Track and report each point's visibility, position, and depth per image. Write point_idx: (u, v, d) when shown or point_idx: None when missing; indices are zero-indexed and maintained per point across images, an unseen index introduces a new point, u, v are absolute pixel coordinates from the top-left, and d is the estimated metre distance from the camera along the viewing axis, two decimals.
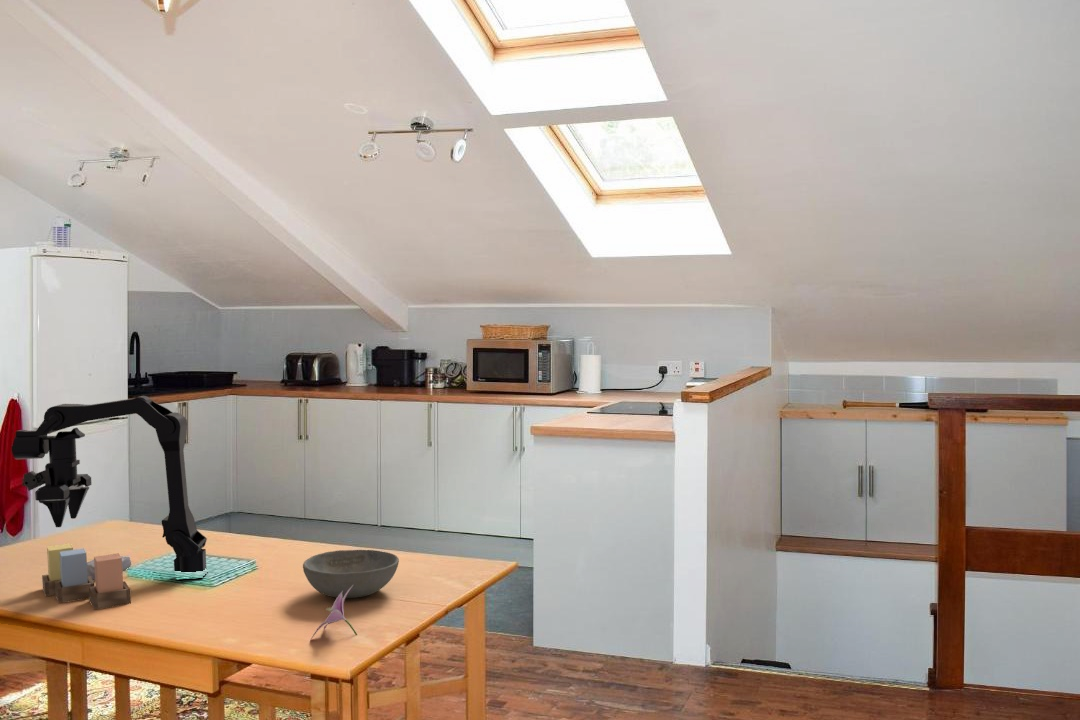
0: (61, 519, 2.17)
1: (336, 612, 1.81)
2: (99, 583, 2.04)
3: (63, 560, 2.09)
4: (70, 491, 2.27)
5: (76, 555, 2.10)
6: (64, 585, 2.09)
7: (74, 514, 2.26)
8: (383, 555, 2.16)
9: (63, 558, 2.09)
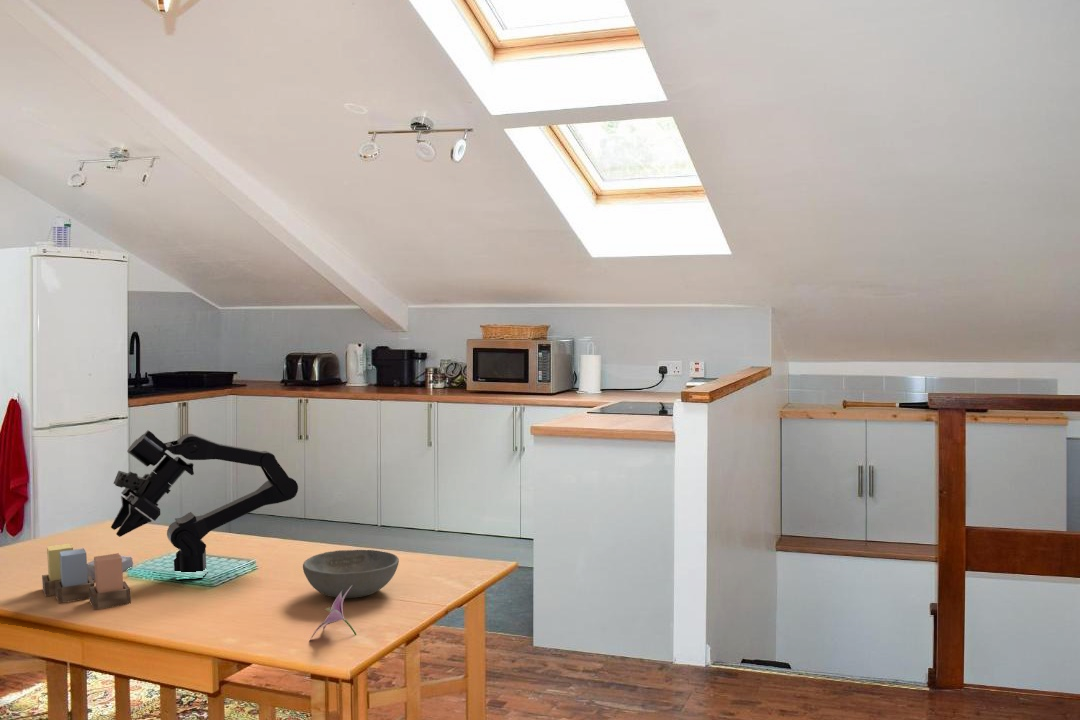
0: (127, 531, 2.14)
1: (335, 612, 1.81)
2: (99, 583, 2.04)
3: (63, 560, 2.09)
4: (129, 504, 2.23)
5: (76, 555, 2.10)
6: (64, 585, 2.09)
7: (116, 526, 2.21)
8: (383, 555, 2.16)
9: (63, 558, 2.09)
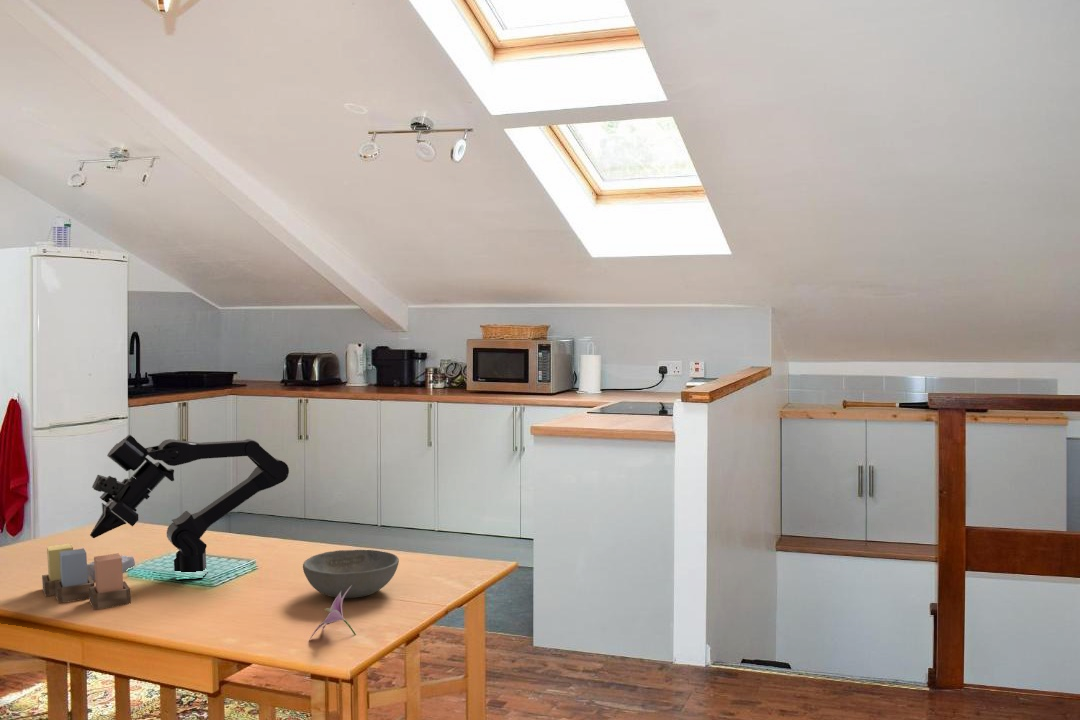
0: (102, 533, 2.14)
1: (335, 612, 1.80)
2: (99, 583, 2.04)
3: (63, 560, 2.09)
4: None
5: (76, 555, 2.10)
6: (64, 585, 2.09)
7: None
8: (383, 555, 2.16)
9: (63, 558, 2.09)
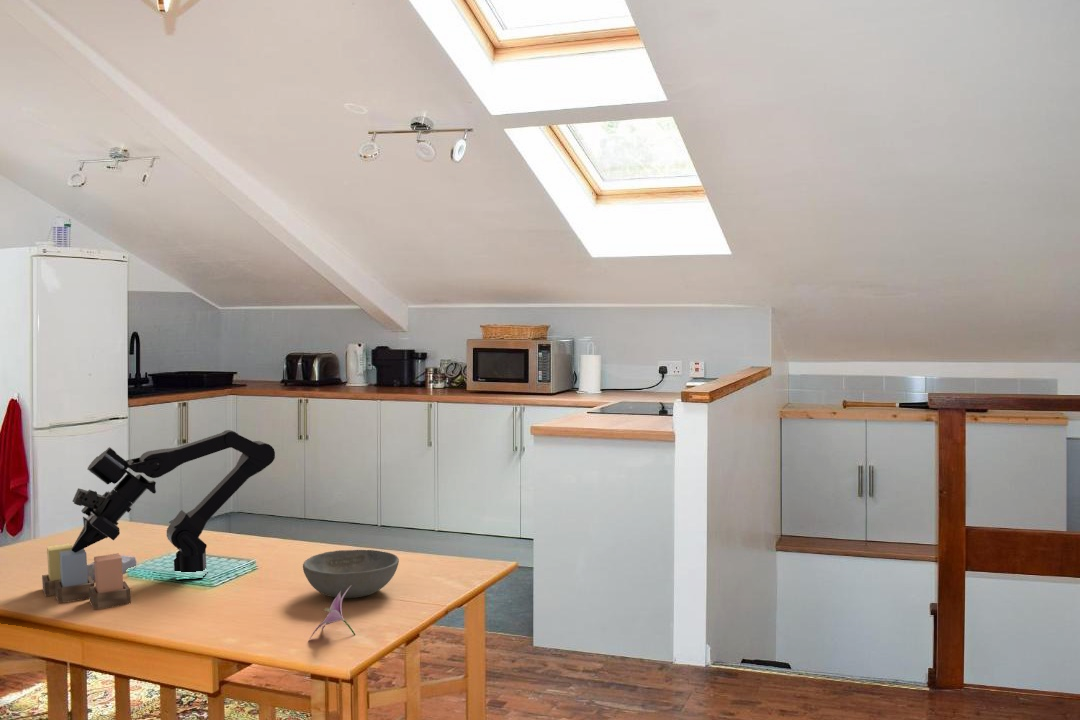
0: (83, 547, 2.12)
1: (334, 612, 1.80)
2: (99, 583, 2.04)
3: (63, 560, 2.09)
4: None
5: (76, 555, 2.10)
6: (64, 585, 2.09)
7: None
8: (383, 555, 2.16)
9: (63, 558, 2.09)
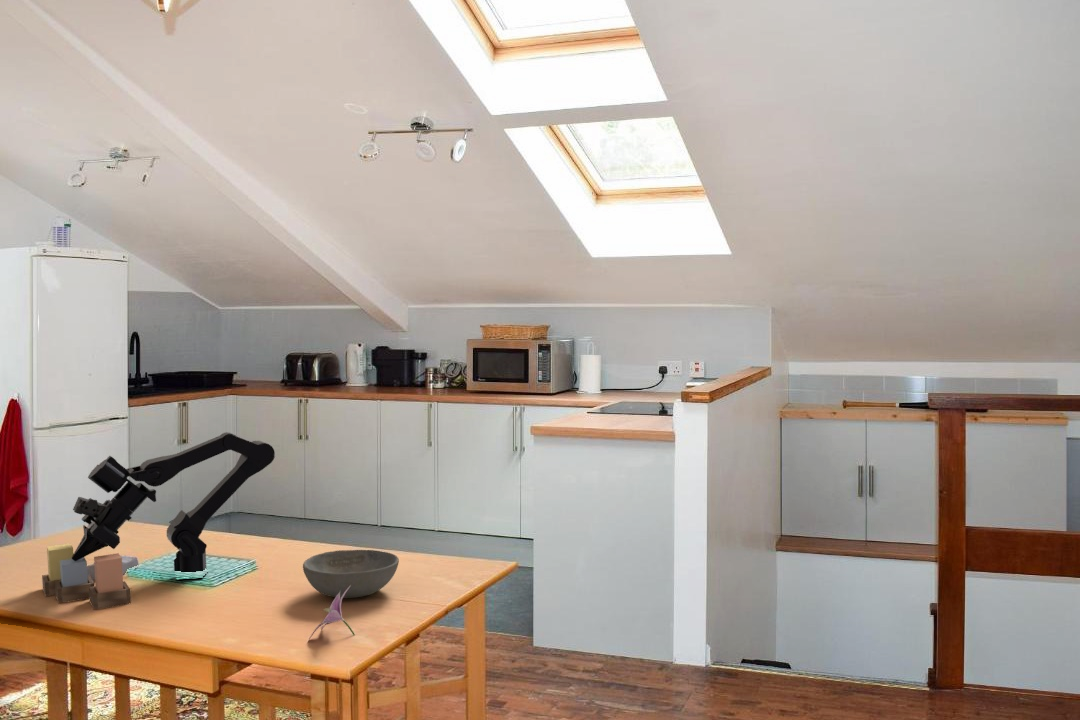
0: (83, 556, 2.12)
1: (334, 613, 1.80)
2: (99, 583, 2.04)
3: (63, 569, 2.09)
4: None
5: (76, 564, 2.10)
6: None
7: None
8: (383, 555, 2.16)
9: (63, 567, 2.09)
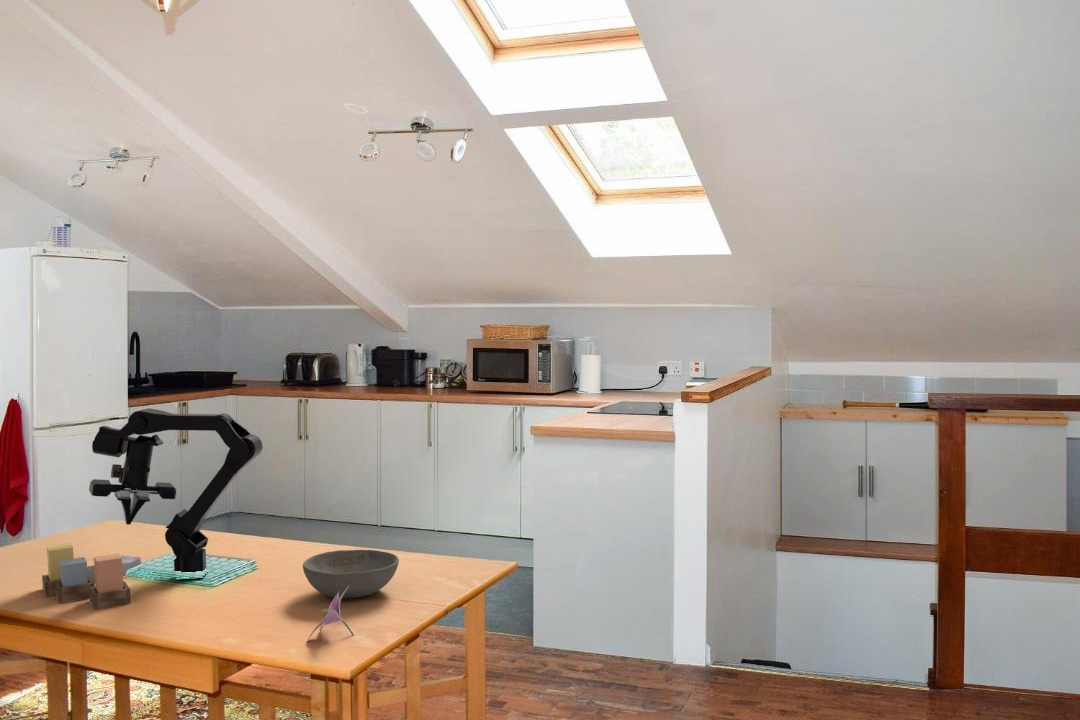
0: (125, 517, 2.24)
1: (333, 613, 1.80)
2: (99, 583, 2.04)
3: (63, 569, 2.09)
4: (134, 497, 2.26)
5: (76, 564, 2.10)
6: None
7: None
8: (383, 555, 2.16)
9: (63, 567, 2.09)
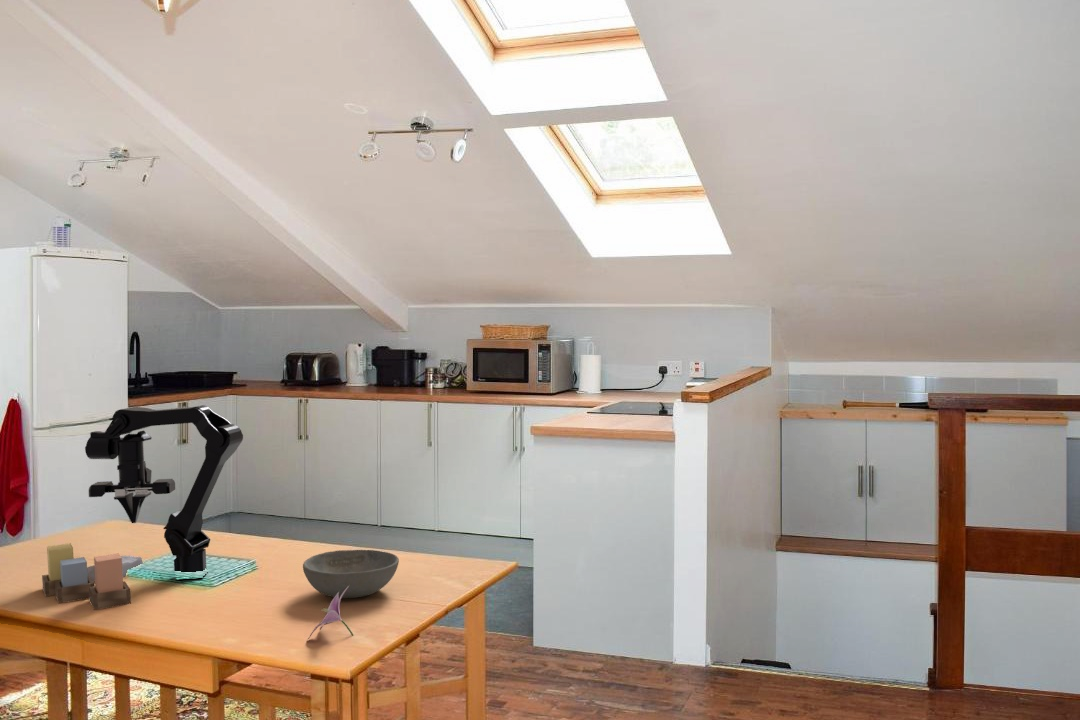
0: None
1: (332, 613, 1.80)
2: (99, 583, 2.04)
3: (63, 569, 2.09)
4: None
5: (76, 564, 2.10)
6: None
7: None
8: (383, 555, 2.16)
9: (63, 567, 2.09)
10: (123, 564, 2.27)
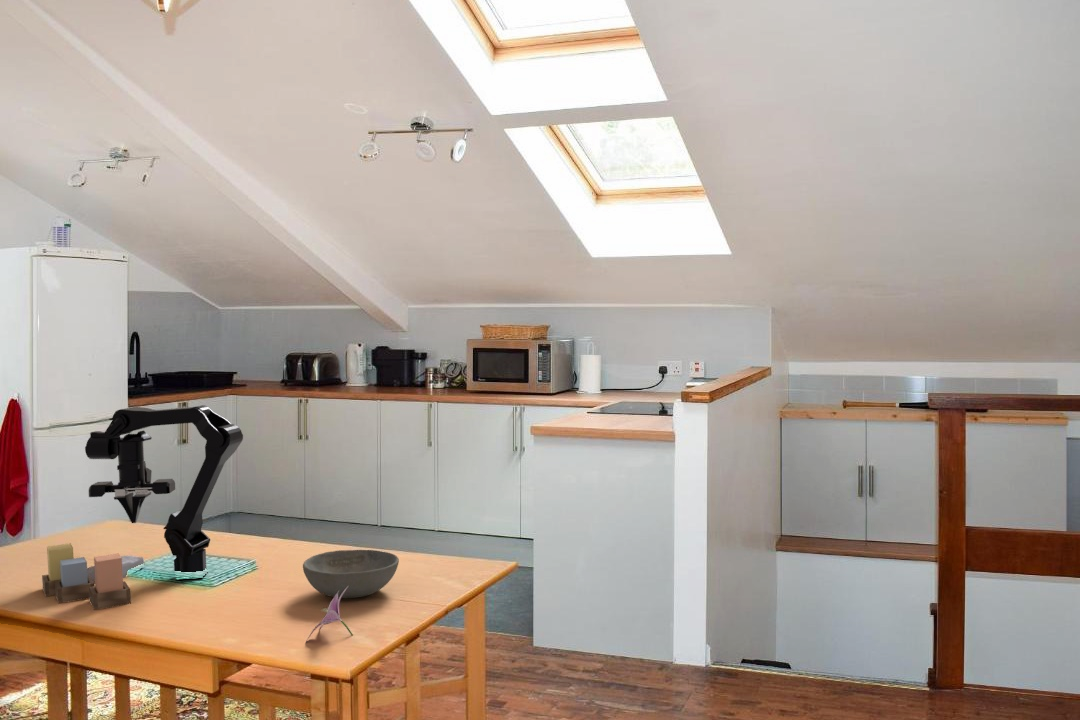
0: None
1: (332, 613, 1.80)
2: (99, 583, 2.04)
3: (63, 569, 2.09)
4: None
5: (76, 564, 2.10)
6: None
7: None
8: (383, 555, 2.16)
9: (63, 567, 2.09)
10: (125, 564, 2.27)
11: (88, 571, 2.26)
